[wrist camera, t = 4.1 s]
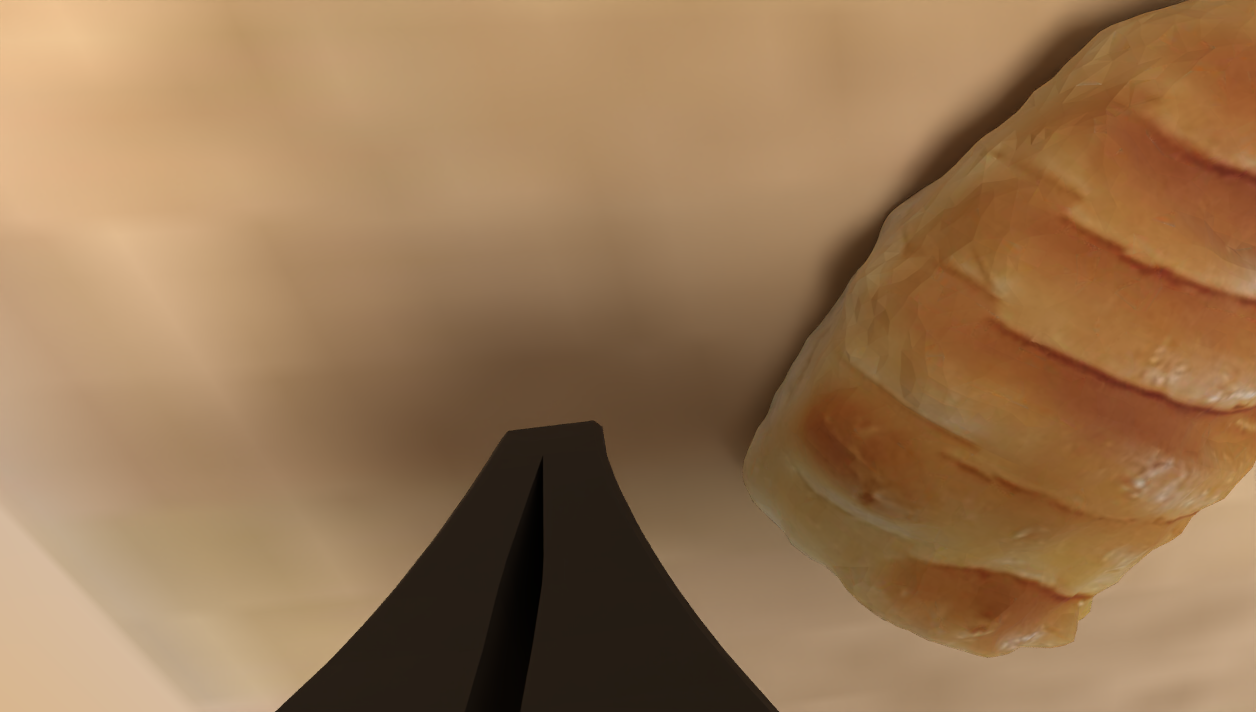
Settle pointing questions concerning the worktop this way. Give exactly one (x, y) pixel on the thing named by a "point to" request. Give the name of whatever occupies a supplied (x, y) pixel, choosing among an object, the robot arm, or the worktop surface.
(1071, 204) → the pastry
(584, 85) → the worktop surface
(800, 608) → the worktop surface
